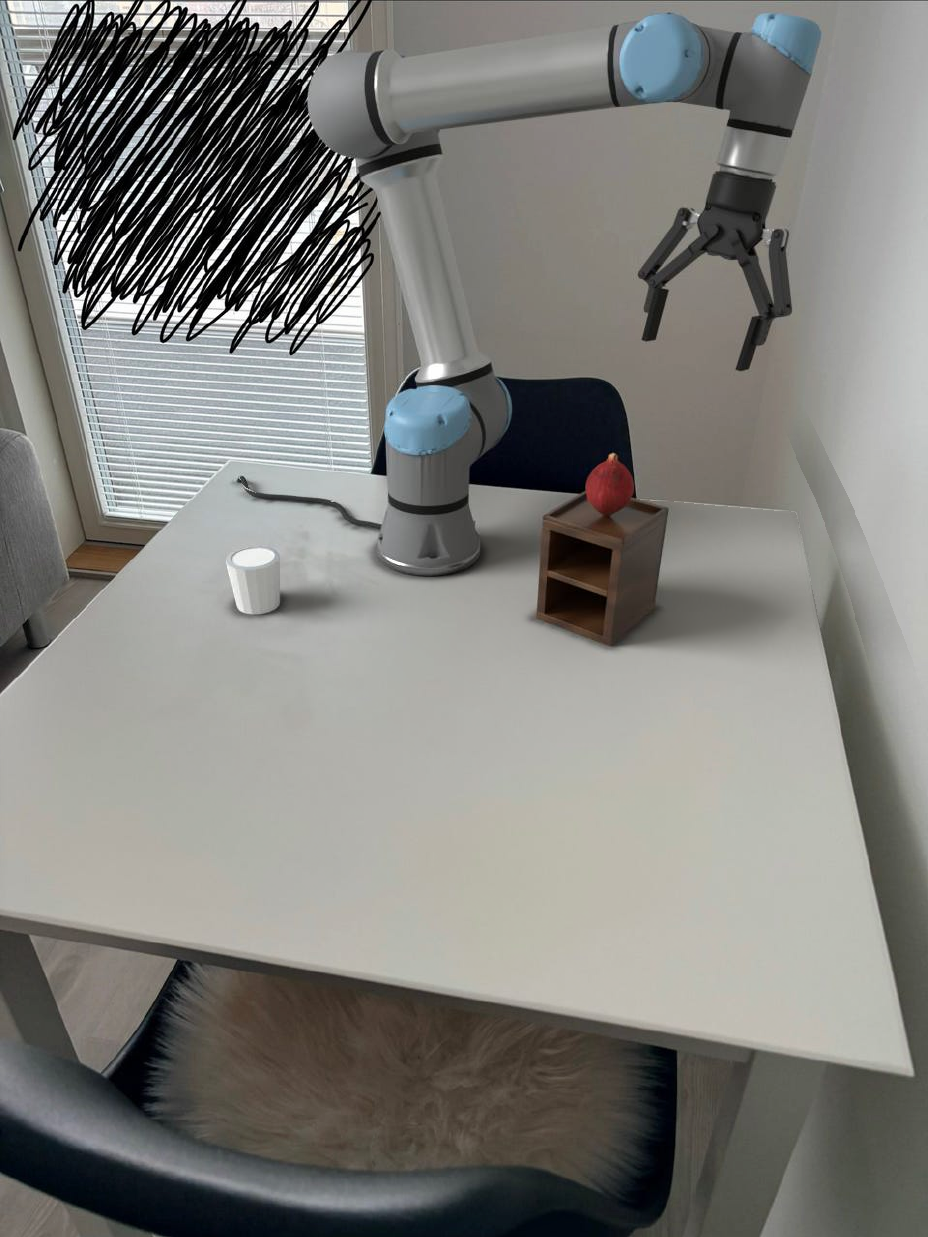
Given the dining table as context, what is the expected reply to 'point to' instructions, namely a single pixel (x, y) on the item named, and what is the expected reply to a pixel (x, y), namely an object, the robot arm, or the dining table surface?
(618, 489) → the onion
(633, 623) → the box
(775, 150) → the robot arm
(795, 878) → the dining table surface
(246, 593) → the shot glass
